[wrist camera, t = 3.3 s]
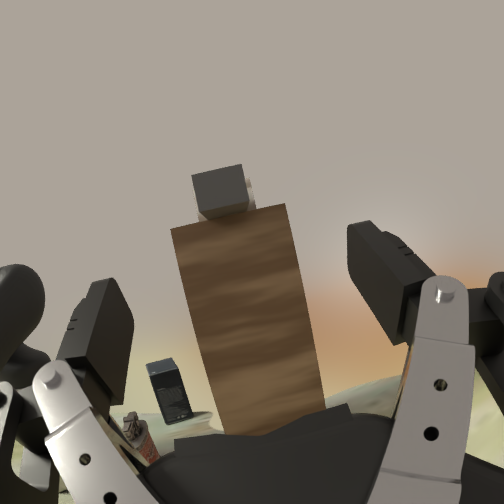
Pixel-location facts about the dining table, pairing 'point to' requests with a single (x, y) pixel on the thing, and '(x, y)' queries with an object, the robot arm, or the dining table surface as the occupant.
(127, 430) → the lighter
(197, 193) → the dark grey matte block
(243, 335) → the stand
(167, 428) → the dining table surface
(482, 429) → the dining table surface
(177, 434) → the dining table surface
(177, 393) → the box
